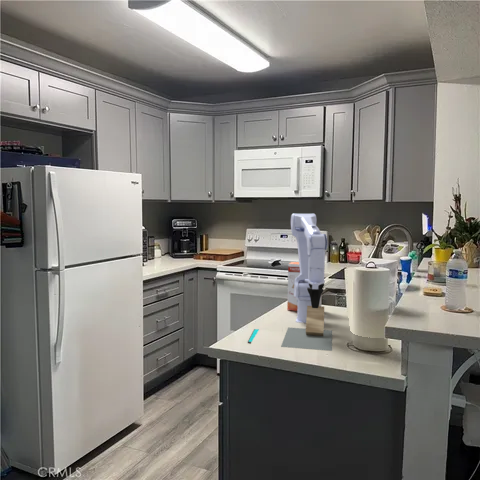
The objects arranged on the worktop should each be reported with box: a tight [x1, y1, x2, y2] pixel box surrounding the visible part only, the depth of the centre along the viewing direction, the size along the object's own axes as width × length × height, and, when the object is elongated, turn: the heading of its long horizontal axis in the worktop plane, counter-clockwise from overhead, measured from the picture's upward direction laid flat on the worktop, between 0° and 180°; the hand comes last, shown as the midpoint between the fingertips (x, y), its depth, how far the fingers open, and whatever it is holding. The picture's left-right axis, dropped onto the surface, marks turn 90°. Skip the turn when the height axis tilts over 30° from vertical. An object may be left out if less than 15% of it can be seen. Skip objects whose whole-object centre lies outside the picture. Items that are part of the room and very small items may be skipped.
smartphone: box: [247, 328, 260, 344], centre depth 144 cm, size 7×1×15 cm
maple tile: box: [305, 305, 325, 336], centre depth 147 cm, size 2×6×10 cm
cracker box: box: [286, 261, 323, 312], centre depth 181 cm, size 14×6×21 cm, turn 68°
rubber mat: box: [280, 327, 333, 352], centre depth 142 cm, size 22×16×1 cm
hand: (315, 305), depth 149 cm, fingers open, 7 cm apart
